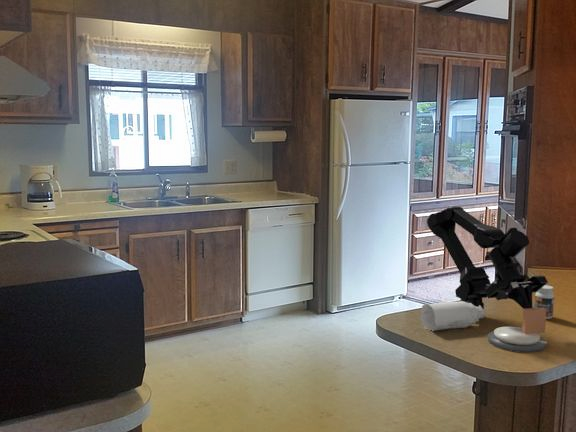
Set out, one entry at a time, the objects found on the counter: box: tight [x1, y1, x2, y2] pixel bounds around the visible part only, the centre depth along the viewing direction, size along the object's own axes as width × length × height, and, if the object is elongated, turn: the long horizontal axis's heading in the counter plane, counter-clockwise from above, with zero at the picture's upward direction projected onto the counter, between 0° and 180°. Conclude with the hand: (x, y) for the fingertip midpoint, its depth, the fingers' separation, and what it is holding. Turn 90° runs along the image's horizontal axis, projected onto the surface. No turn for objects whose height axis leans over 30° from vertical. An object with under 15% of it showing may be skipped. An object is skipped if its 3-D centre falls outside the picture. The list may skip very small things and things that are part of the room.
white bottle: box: [419, 301, 486, 332], centre depth 184 cm, size 8×19×8 cm, turn 107°
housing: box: [487, 331, 548, 353], centre depth 171 cm, size 15×15×1 cm
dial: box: [493, 307, 547, 345], centre depth 171 cm, size 14×12×8 cm
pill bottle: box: [533, 284, 555, 320], centre depth 195 cm, size 6×6×10 cm
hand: (530, 312), depth 172 cm, fingers closed, pressing on dial
